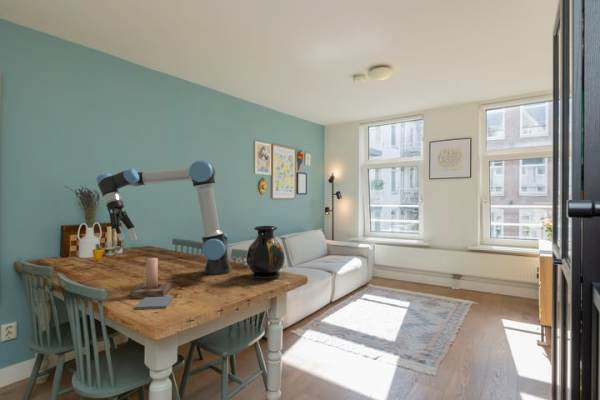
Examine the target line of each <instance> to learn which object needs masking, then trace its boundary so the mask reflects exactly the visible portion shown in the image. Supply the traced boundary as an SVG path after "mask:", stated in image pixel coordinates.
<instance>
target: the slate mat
mask: <svg viewBox="0 0 600 400" xmlns="http://www.w3.org/2000/svg"><path fill="white" fill-rule="evenodd" d="M174 298H175V296H174V295H173V296H172V295H171V296H170V295H169V296H168V295H167V296H166V295H165V296H164V297H145V298H142V300H141V301H140V302H138V303H137V305H135V306H134V310H153V309H154V310H155V309H156V310H157V309H159V310H160V309H167V306H168V307H169V305H170V304H171V303H172V302H173V300H174Z"/></svg>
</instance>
